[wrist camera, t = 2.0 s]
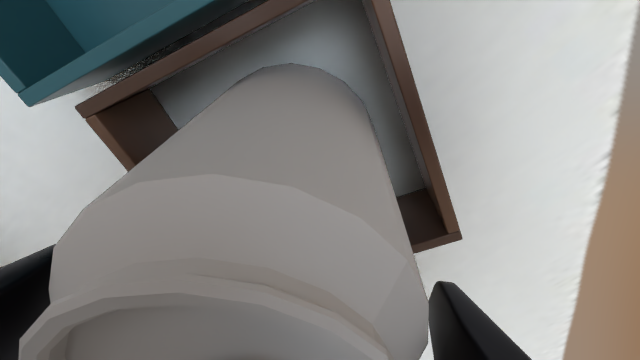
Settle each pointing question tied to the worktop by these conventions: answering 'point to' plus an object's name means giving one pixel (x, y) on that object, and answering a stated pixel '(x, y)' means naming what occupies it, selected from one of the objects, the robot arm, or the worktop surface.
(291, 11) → the walnut frame
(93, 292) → the can
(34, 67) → the teal tote
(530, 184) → the worktop surface
